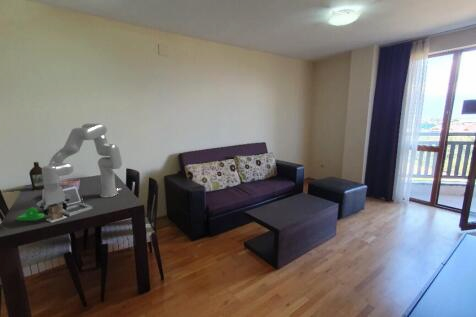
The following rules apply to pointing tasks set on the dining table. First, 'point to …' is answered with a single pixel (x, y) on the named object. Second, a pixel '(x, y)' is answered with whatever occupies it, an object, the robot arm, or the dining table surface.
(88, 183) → the dining table surface
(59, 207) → the block
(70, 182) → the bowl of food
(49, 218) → the mat
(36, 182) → the olive oil
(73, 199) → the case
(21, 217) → the mechanical part
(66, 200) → the robot arm
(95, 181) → the dining table surface
